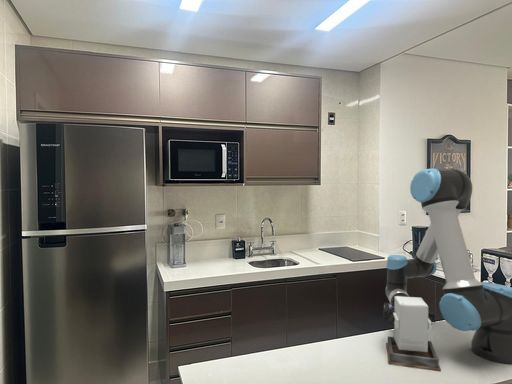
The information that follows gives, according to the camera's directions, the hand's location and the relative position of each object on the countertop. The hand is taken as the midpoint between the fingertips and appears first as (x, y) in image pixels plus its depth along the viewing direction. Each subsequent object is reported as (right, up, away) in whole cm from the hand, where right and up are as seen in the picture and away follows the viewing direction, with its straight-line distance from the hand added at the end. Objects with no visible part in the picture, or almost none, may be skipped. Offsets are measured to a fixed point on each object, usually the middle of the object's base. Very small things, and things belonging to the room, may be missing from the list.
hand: (413, 325), depth 113 cm
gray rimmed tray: (+1, -12, +4) cm, 13 cm away
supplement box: (+1, -9, +5) cm, 10 cm away
